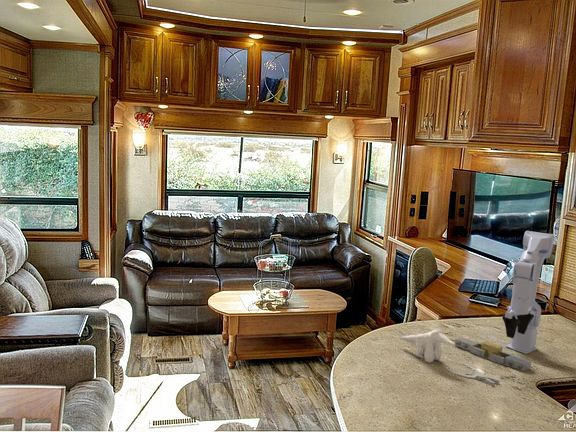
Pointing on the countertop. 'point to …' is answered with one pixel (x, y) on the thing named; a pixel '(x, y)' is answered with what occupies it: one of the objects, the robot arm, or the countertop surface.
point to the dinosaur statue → (428, 344)
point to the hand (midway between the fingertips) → (515, 335)
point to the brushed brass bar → (491, 349)
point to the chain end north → (511, 361)
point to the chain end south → (470, 346)
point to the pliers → (478, 376)
